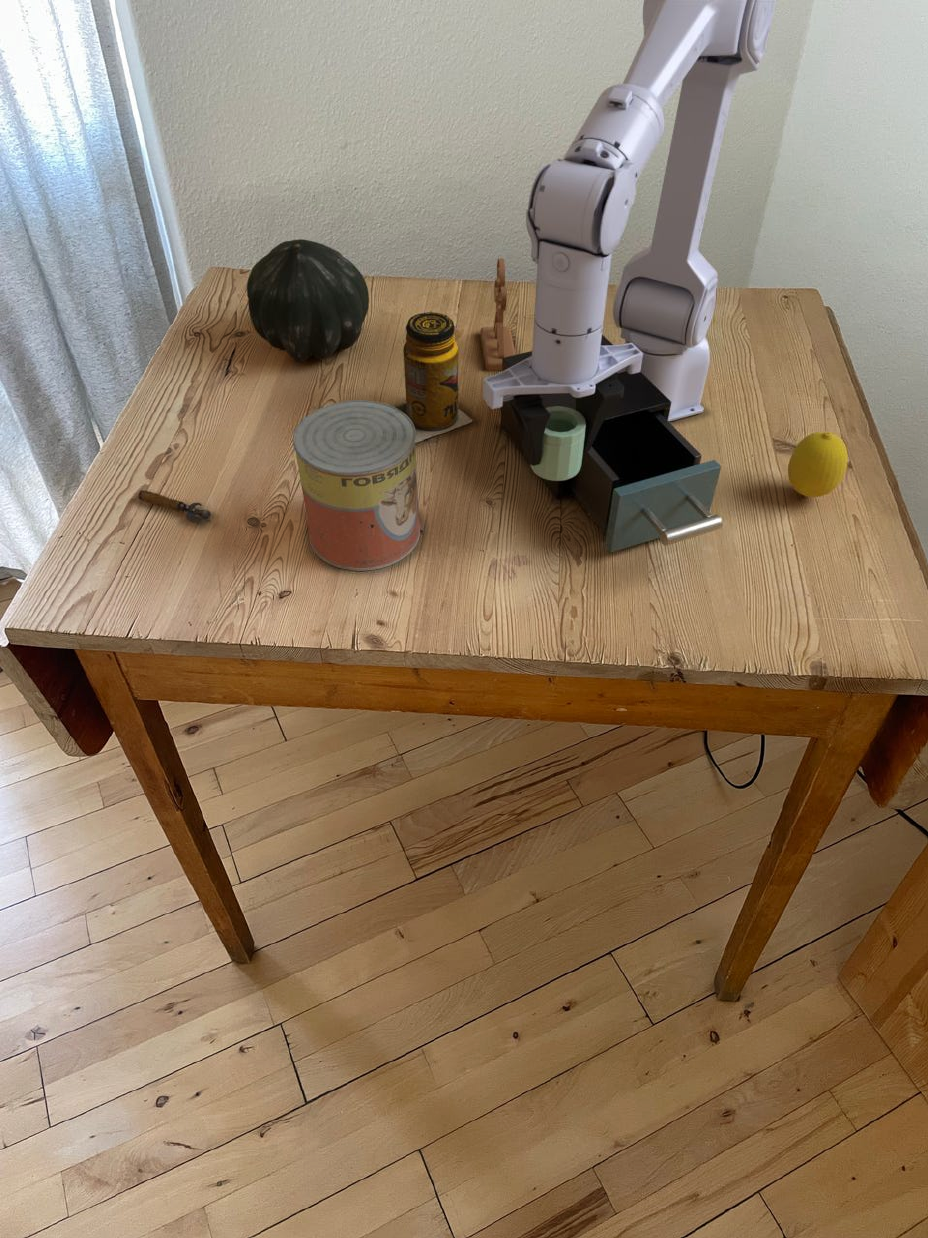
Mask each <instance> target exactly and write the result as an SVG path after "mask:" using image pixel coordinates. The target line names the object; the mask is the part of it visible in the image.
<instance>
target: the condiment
mask: <svg viewBox="0 0 928 1238" xmlns="http://www.w3.org/2000/svg"><path fill="white" fill-rule="evenodd" d="M455 329H456V326H455V323H454V321H453V319H451V317H450V316H448V315H447V314H443V313H440V312H432V311H429V312H427V311H426V312H421V313H417V314H414V315H412V316H411V317H410V318H409V319H408V321H407V323H406V325H405V331H406V334H405V343H404V346H403V351H402V352H403V364H404V365H403V369H404V370H403V371H404V388H405V391H404V392H405V402H403V403H401V404H400V405H396V406H394V407H395V408H397V409H399V410H400V411H402V412H403V413H405V414H406V415H407V416H408V417H409V418H410V419H411V421H412V422H413V424H414V427H415V430H416V440H415V444H417V443H420V442H423V441H424V440H427V439H430V438H433V437H435V436H439V435H442V434H445V433H447V432H450V431H452V430H455V429H457V428H460V427H463V426H465V425H468V424H470V423H472V422H473V419H471V417H470V416H469V415H467V414H466V413H464V412H463V411H462V410H461V409H460V408H459V346H458V343H457V341H456V336H455Z"/></svg>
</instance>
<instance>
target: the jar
mask: <svg viewBox="0 0 928 1238" xmlns="http://www.w3.org/2000/svg"><path fill="white" fill-rule="evenodd" d="M546 409H547V410H548V412H549V413H550V414H551V416H550V418H549V420H548V422H547V425H546V428H545V432H544V436H543V443H542V456H541V461H540V464H539V465H535V466H532V465H531V466H530V467H531V470H532V471H533V473H534V474H535V475H536V476H538V477H539V476H540V477H542V478H544V479H547V480H552V481H562V480H567V479H570V478H572V477H574V476H575V475H577V473H578V472H579V471H580V467H581V462H582V454H583V446H584V437H585V428H586V422H585V418H584V417H583V416H582V415H581V413H579V412H578V411H576V410H574V409H572V408H568V407H561V406H555V407H547V408H546ZM540 477H539V478H540Z"/></svg>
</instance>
